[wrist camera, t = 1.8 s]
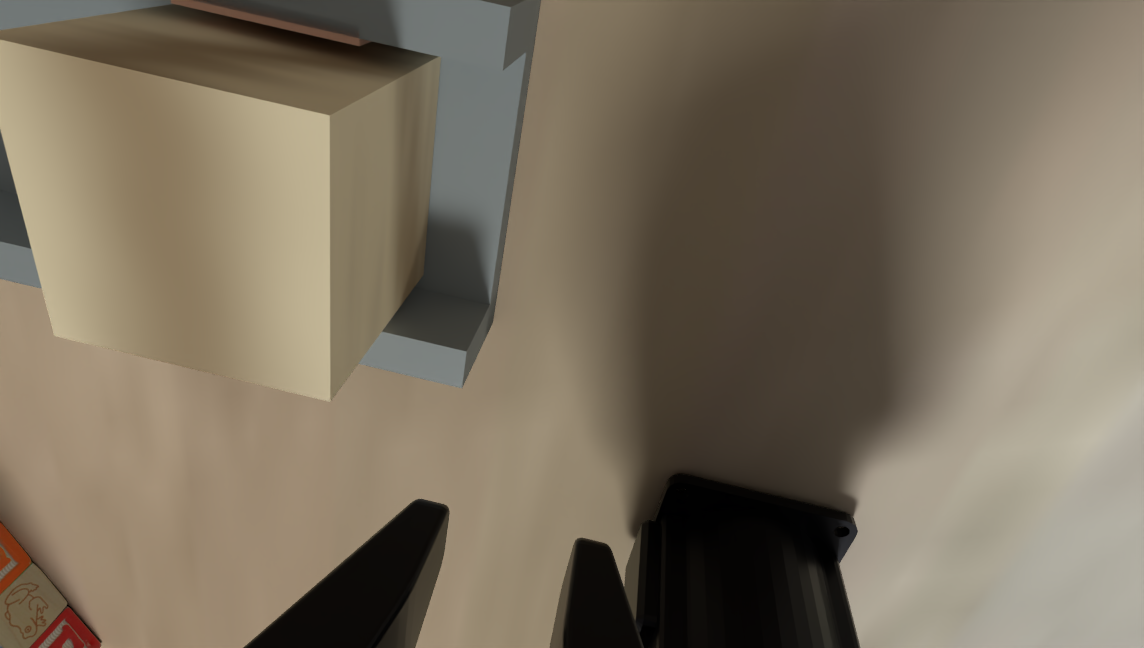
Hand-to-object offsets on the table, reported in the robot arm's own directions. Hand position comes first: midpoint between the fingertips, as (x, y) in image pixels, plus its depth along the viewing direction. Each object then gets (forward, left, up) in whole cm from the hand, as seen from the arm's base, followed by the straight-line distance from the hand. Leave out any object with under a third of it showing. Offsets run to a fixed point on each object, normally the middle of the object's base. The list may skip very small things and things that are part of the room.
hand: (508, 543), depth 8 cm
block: (+8, 0, -11) cm, 13 cm away
